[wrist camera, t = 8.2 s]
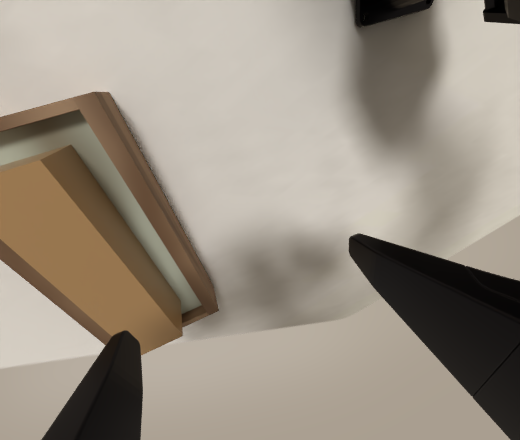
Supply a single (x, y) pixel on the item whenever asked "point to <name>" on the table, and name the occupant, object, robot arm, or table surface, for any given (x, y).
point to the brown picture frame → (118, 191)
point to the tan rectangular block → (85, 247)
